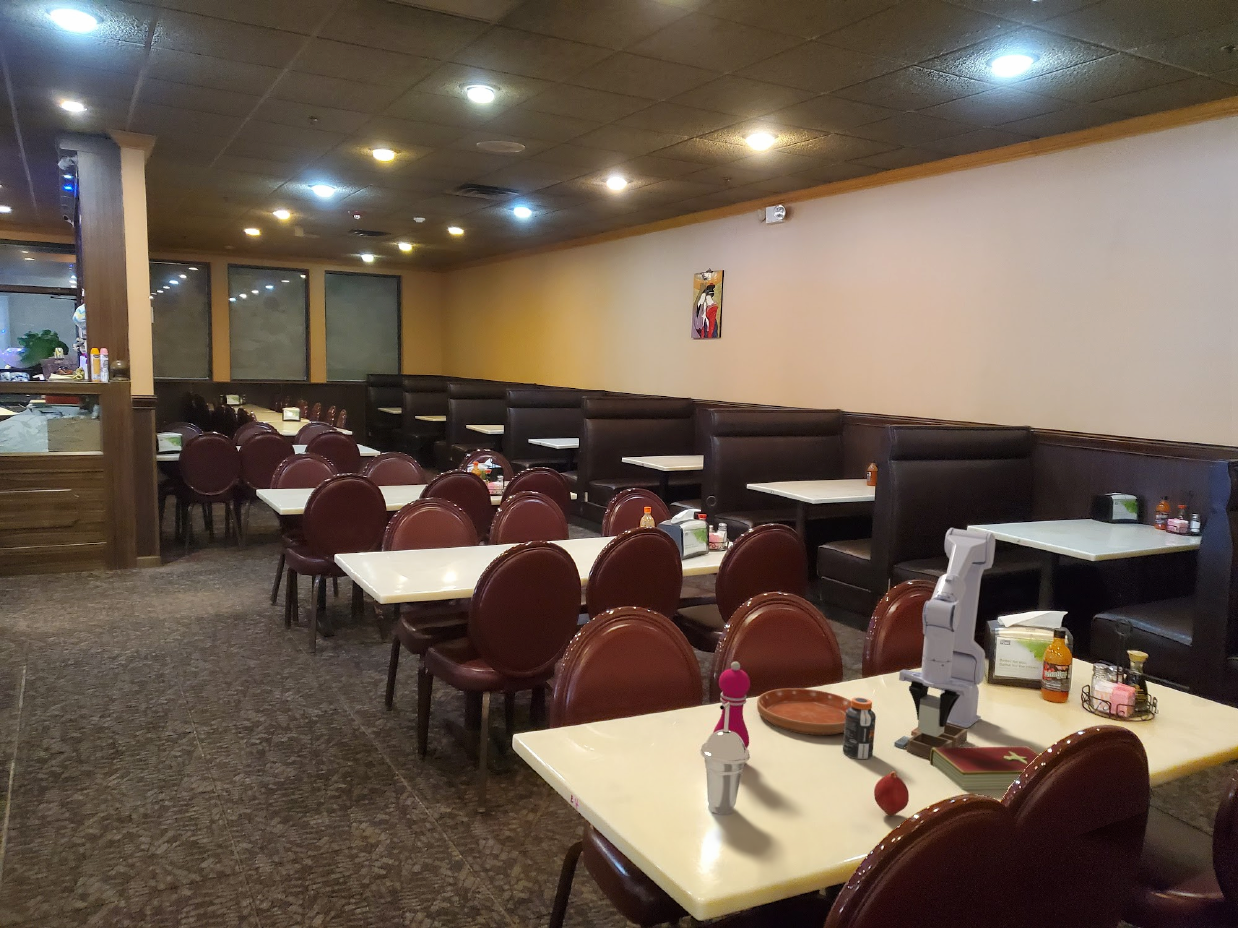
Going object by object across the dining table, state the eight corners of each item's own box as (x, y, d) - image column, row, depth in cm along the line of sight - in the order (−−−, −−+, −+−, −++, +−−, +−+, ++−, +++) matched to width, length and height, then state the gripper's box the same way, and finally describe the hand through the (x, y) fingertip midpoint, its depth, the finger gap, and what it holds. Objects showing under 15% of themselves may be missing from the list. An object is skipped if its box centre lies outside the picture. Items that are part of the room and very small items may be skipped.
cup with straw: (755, 810, 156) (764, 698, 154) (723, 826, 149) (731, 709, 148) (717, 792, 162) (725, 684, 160) (684, 807, 155) (691, 694, 154)
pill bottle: (873, 761, 179) (878, 706, 178) (843, 757, 181) (847, 702, 180) (871, 750, 185) (875, 696, 184) (841, 746, 186) (846, 693, 185)
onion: (867, 806, 159) (871, 763, 159) (899, 807, 160) (902, 763, 159) (879, 822, 153) (883, 777, 153) (912, 823, 154) (916, 778, 153)
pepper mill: (750, 757, 178) (757, 659, 176) (743, 772, 171) (750, 669, 169) (715, 751, 180) (721, 653, 178) (706, 764, 173) (713, 663, 172)
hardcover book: (929, 765, 180) (931, 745, 180) (1024, 764, 184) (1026, 744, 183) (961, 792, 168) (963, 771, 168) (1062, 790, 172) (1064, 769, 171)
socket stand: (921, 727, 200) (922, 716, 199) (966, 740, 193) (967, 729, 193) (892, 746, 188) (893, 735, 187) (939, 761, 181) (940, 749, 181)
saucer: (758, 734, 191) (759, 717, 191) (754, 698, 214) (755, 683, 213) (868, 745, 188) (869, 728, 188) (852, 707, 211) (854, 692, 211)
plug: (924, 726, 188) (927, 694, 188) (943, 732, 186) (946, 699, 185) (917, 731, 185) (920, 698, 185) (936, 737, 183) (939, 703, 182)
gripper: (895, 653, 186) (890, 717, 187) (966, 670, 177) (960, 737, 178) (909, 647, 191) (903, 709, 192) (978, 663, 182) (972, 728, 183)
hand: (931, 722), depth 185 cm, fingers closed on plug, 4 cm apart
